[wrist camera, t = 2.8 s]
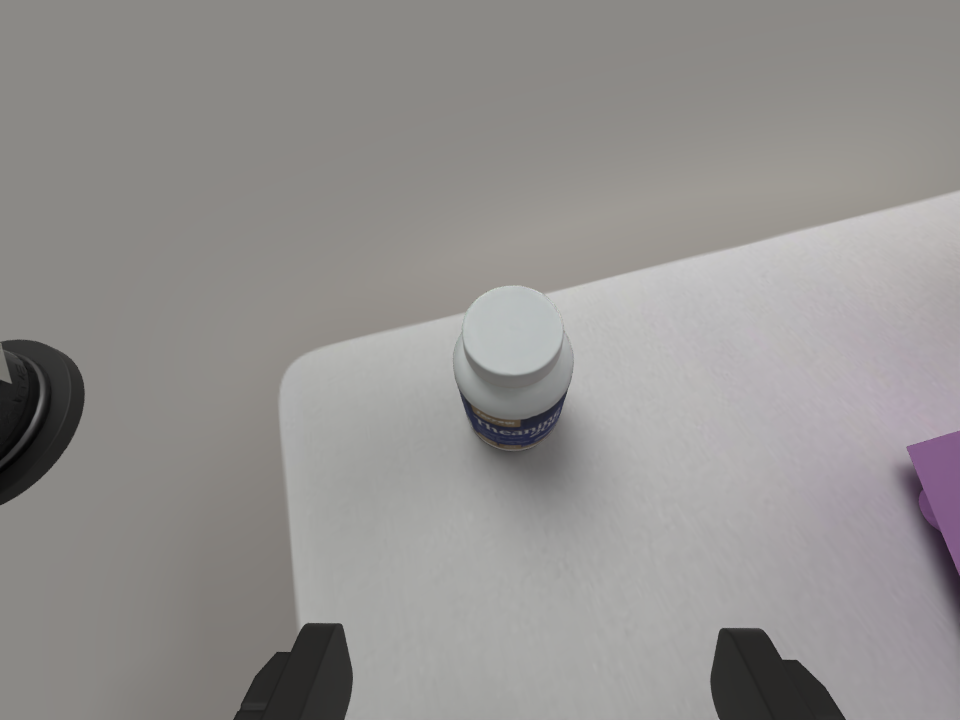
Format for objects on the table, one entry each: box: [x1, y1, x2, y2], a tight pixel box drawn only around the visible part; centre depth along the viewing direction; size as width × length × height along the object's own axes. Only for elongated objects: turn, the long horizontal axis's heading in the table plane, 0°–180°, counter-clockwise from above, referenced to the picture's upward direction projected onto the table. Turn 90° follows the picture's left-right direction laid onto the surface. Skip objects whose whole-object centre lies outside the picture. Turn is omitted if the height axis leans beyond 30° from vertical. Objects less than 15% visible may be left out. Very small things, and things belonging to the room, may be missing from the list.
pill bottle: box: [453, 286, 574, 451], centre depth 22 cm, size 5×5×10 cm
